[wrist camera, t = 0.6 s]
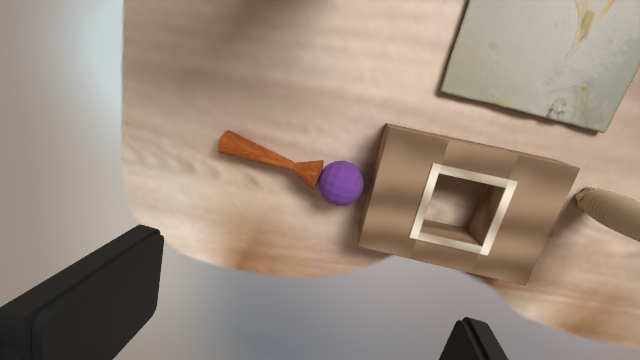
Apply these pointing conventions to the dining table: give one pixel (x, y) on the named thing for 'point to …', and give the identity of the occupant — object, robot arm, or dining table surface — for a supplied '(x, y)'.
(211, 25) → the dining table surface
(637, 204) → the handle
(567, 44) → the decorative slab
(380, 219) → the brown flat block
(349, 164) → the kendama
